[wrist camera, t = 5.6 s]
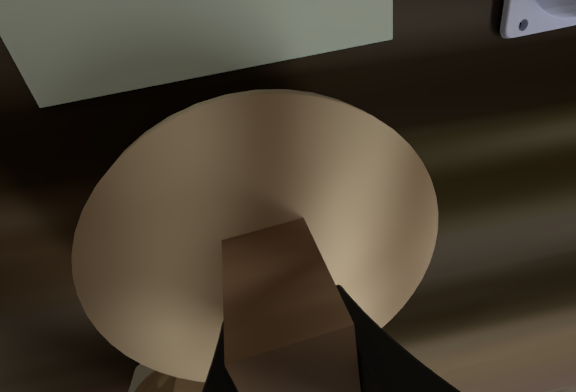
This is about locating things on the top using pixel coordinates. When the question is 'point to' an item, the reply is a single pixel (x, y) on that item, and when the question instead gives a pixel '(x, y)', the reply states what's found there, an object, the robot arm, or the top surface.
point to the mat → (172, 39)
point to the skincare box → (161, 382)
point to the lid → (255, 239)
